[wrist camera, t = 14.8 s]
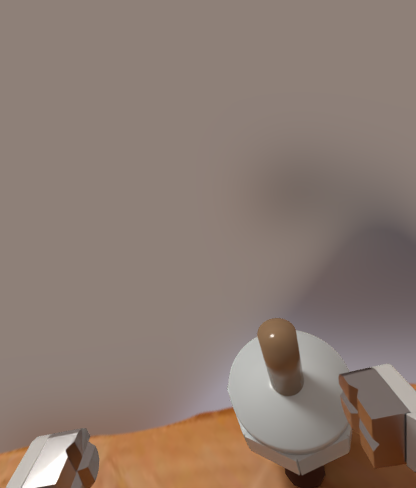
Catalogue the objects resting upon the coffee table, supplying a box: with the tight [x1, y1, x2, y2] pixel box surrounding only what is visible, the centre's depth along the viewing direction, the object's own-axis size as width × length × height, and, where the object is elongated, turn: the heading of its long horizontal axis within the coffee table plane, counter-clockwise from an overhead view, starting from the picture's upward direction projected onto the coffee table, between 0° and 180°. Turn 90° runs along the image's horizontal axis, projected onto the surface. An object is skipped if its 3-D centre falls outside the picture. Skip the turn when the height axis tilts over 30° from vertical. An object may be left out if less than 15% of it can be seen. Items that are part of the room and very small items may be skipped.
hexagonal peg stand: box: [227, 318, 352, 475], centre depth 33 cm, size 15×15×14 cm
